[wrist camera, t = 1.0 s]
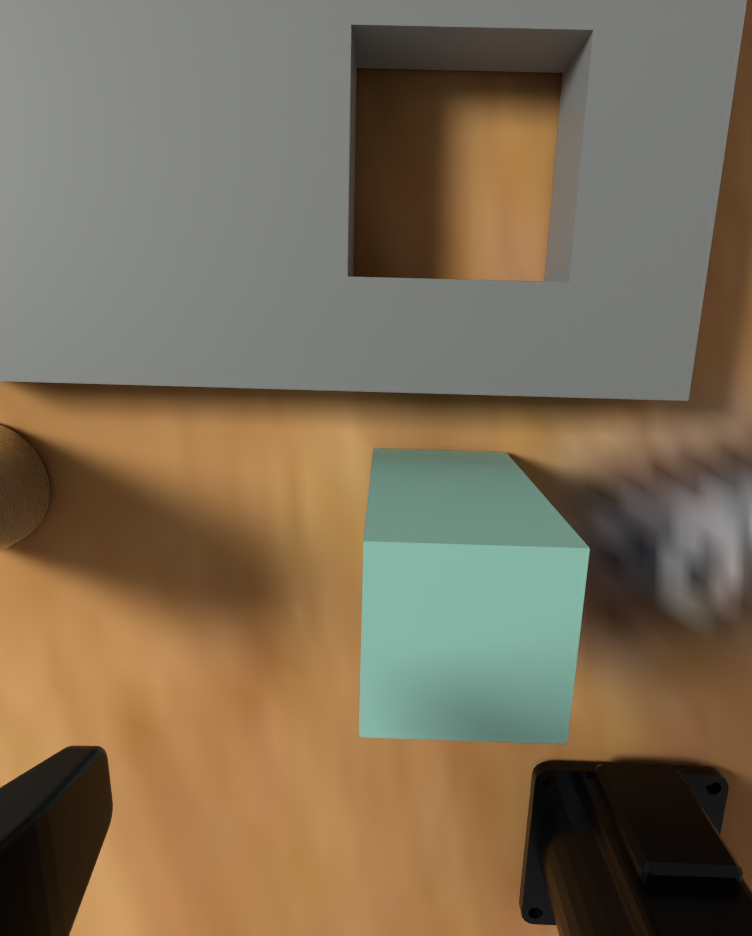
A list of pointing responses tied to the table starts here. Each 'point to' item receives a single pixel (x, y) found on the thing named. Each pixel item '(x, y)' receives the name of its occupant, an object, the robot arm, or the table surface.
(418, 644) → the square peg
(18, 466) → the round peg
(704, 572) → the table surface
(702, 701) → the table surface
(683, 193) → the plate
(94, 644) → the table surface
